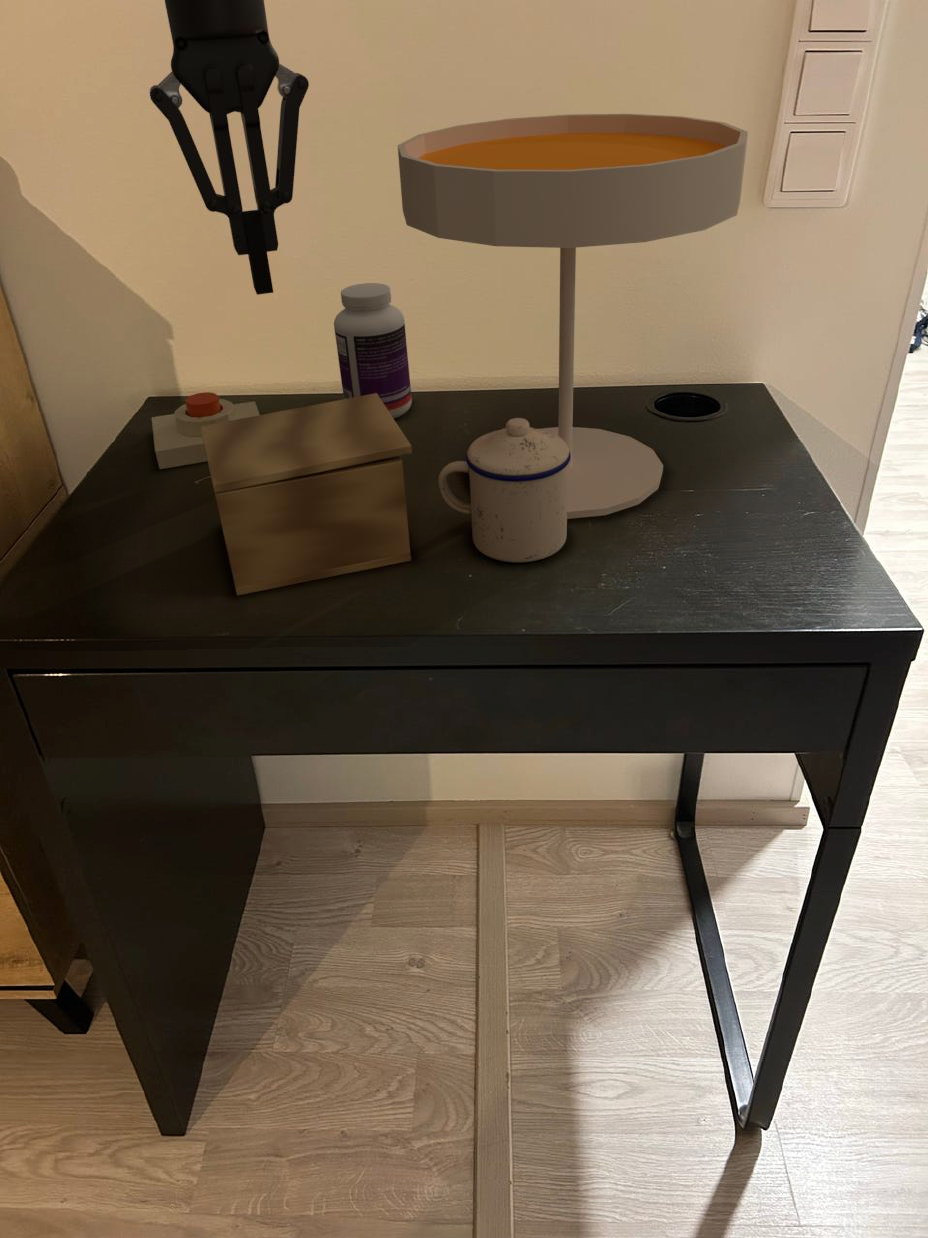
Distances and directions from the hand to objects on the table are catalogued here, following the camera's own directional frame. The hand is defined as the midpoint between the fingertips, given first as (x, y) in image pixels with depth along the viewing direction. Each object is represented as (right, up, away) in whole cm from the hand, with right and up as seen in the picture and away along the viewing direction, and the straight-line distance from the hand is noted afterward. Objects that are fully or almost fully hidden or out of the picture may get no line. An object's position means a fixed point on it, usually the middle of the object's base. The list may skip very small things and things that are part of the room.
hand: (263, 289), depth 87 cm
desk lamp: (+29, -15, +12) cm, 35 cm away
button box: (-11, -10, +23) cm, 27 cm away
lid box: (+4, -23, +2) cm, 23 cm away
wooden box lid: (+4, -15, -3) cm, 15 cm away
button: (-11, -7, +21) cm, 24 cm away
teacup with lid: (+22, -23, +2) cm, 32 cm away
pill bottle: (+8, -5, +28) cm, 30 cm away
